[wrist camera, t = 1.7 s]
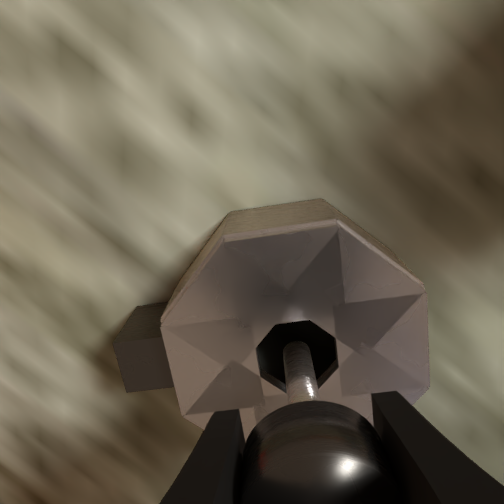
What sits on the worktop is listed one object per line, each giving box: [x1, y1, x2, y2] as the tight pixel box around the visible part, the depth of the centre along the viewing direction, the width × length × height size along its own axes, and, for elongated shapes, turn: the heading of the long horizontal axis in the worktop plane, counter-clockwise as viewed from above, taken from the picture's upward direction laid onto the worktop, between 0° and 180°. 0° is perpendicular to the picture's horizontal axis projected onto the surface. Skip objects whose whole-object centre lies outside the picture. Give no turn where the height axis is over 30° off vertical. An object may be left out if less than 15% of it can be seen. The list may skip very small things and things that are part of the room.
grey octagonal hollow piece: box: [113, 199, 430, 442], centre depth 16 cm, size 9×10×4 cm
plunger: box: [240, 341, 404, 504], centre depth 11 cm, size 3×3×6 cm
